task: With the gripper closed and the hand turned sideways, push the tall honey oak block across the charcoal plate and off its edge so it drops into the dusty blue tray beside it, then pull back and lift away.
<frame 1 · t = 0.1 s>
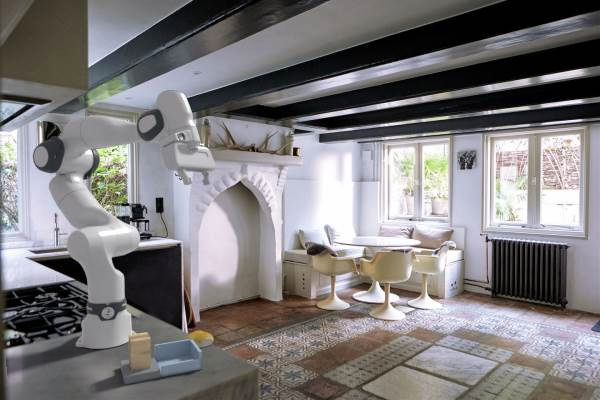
hand: (198, 184, 128), 52 cm above the table, tool tilted 20°, fingers open, 8 cm apart
oak block: (139, 365, 119), point 2 cm above the table, touching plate
tray: (177, 365, 124), on the table
bread roll: (200, 344, 142), on the table
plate: (140, 372, 119), on the table
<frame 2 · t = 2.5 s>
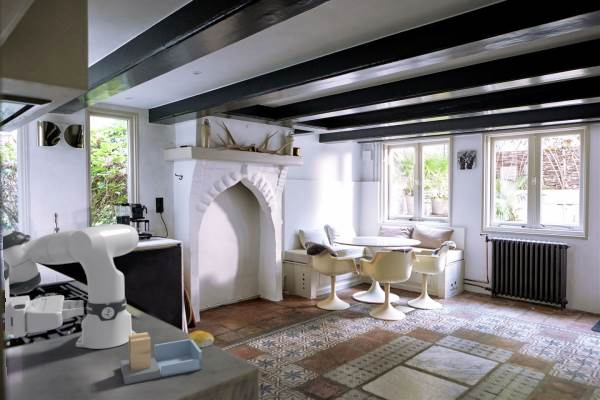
hand: (83, 307, 112), 20 cm above the table, tool horizontal, fingers open, 6 cm apart
nothing on the table moved.
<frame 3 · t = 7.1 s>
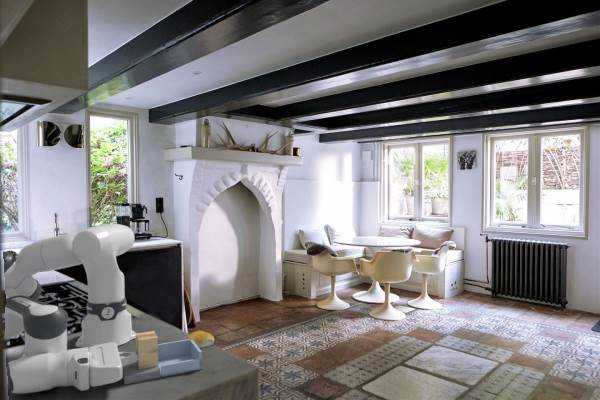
hand: (137, 356, 118), 5 cm above the table, tool horizontal, fingers closed, pressing on oak block
oak block: (147, 363, 120), point 2 cm above the table, touching gripper
everything else where it was.
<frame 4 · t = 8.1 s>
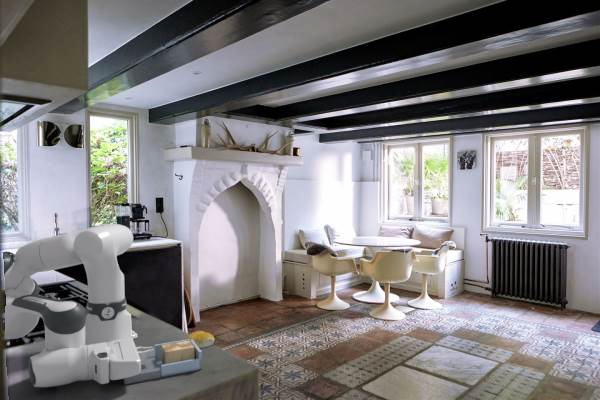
hand: (154, 351, 120), 5 cm above the table, tool horizontal, fingers closed
oak block: (163, 357, 122), point 3 cm above the table, tilted 90°, touching tray
everything else where it was.
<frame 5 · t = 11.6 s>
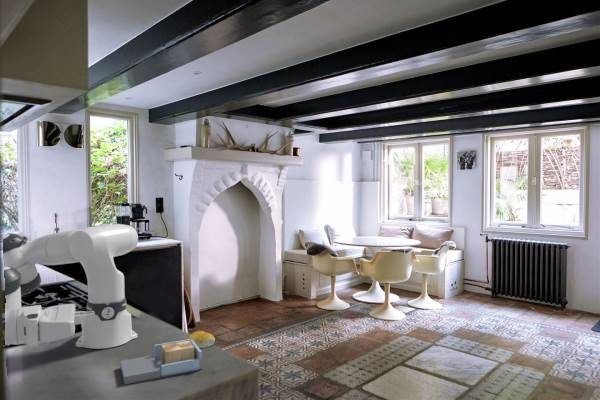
hand: (94, 315, 113), 18 cm above the table, tool horizontal, fingers closed
nothing on the table moved.
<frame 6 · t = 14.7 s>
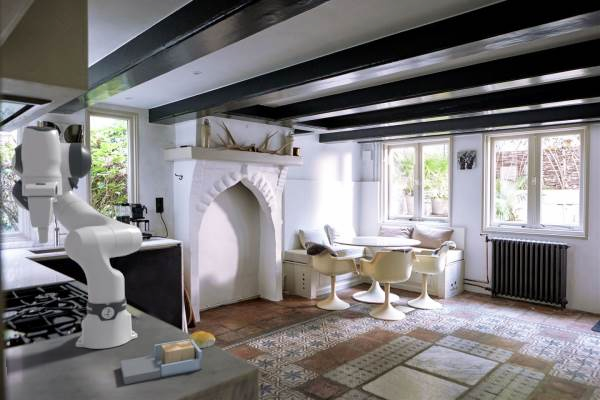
hand: (43, 242, 110), 37 cm above the table, tool pointing down, fingers closed
nothing on the table moved.
at the end: oak block inside the target area (3.9 cm from its centre), point 3.0 cm above the table; oak block touching tray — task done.
